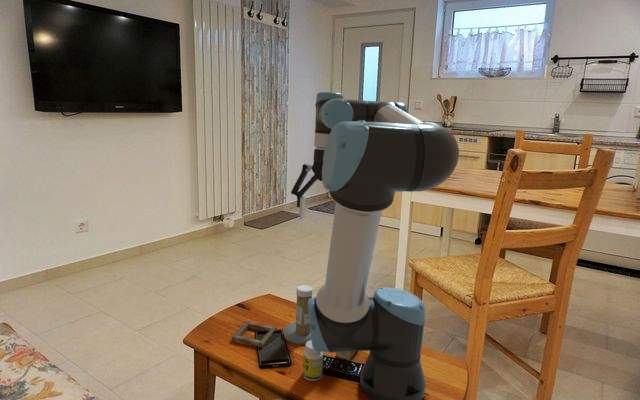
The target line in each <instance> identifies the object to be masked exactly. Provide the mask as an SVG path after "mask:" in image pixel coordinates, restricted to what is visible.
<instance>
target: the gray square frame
mask: <svg viewBox="0 0 640 400" xmlns="http://www.w3.org/2000/svg"><path fill="white" fill-rule="evenodd" d="M249 329H251V330H256V331H259V332H260V331H261V332H264V331H269V332H266V334H264V335H263V337H262V339H261V340H260V339H256V338H251V337H246V336H244V335H245V333H246V332H247V331H248V330H249ZM276 330H278V328H277V326H274V325H273V326H272V325H267V324H263V323H257V322H253V321H248V320H247V321H246V322H245V323H244V324H243V325H242V326H241V327H240V328H238V330H237V331H236V332H235V333H234V334H233V335H232V336H231V342H232V343H238V344H242V345H247V346H251V347H254V348H257V347H256V346H257V345H259V346H263V345H264V344H265V342H266V341H267V340H268V338H269V337H270V336H271V335H272V333H273V332H274V331H276Z"/></svg>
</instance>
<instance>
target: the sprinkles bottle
mask: <svg viewBox="0 0 640 400" xmlns="http://www.w3.org/2000/svg"><path fill="white" fill-rule="evenodd" d="M313 289H314V288H313V287H312V286H311V285H307V284H306V285H305V284H304V285H303V284H302V285H299V286H296V291H295V293H296V304H295V305H296V306H295V307H296V308H295V322H296V329H295V331H296V333H297V334H300V335H307V334H309V333H310V332H311V331H310V321H309V310H308V300H309V299H310V298H313V292H314V290H313Z"/></svg>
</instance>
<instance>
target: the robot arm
mask: <svg viewBox="0 0 640 400" xmlns="http://www.w3.org/2000/svg"><path fill="white" fill-rule="evenodd" d="M314 105H315V120H314V123H315V124H314V125H315V126H314V140H313V141H314V143H313V145H314V147H315V149H314V150H313V164H310V163H304V164H303V165H302V167H301V172H300V174H299V176H298V178H297V179H296V182H295V183H294V185H293V188H292V189H291V191H290V194H292V195H294V196H296V208H299V217H298V219H299V220H303V219H305V218H306V198H307V196H306V195H305V193H307V192H308V190H309V189H311V187H312V186H313V185H314V184H315V182H317V181H319V182H322V186H323V188H324V189H325V190H328V193H329V198H331V200H332V201H333V202H334V203H335V206H334V214H333V222H332V228H331V229H332V230H331V237H330V245H329V251H328V252H329V253H328V260H327V266H326V273H325V274H326V275H325V281H324V285H322V286H321V287H320V288H319V289H318V290H317V293H316V296H314V297H313V296H312V298H310V299H309V300H308V310H309V321H310V331H311V341H312V347H313V348H314V350H316V351H318V352H323V353H336V352H344V351H356V352H359V351H360V352H362V351H363V352H364V351H369V354H368V356H367V357H366V360H365V363H364V364H363V367H362V369H361V371H360V372H361V373H360V381H359V384H360V387H361V389H362V391H363V393H364V394H365V395H366V396H367V397H368V398H370V399H371V400H423V398H424V397H425V394H426V378H425V374H424V370H423V366H422V363H421V358H422V357H421V356H422V348H423V339H424V330H425V329H424V328H425V324H426V317H425V315H426V307H425V304H424V302H423V300H422V299H420V298H419V297H418V296H417V295H415V294H414V293H412V292H409V291H407V290H404V289H401V288H397V287H391V286H390V287H389V286H383V287H380V288H377V289H375V291H374V293H373V296H372V297H371V296H370V297H369V296H368V295H367V293H366V289H367V285H368V279H369V275H370V270H371V265H372V261H373V256H374V252H375V246H376V241H377V237H378V234H379V233H378V232H379V228H380V222H381V218H382V214H383V211H386V210H387V209H389V208H390V207H391V206H392V205H393V202H394V198H395V194H396V192H404V193H405V192H407V193H408V192H411V193H412V192H425V191H428V190H431V189H432V190H433V188H436V187H439V186H440V185H441V184H443V183H444V182H446V180H448V179H449V178H450V177H451V175H452V173H454V171H455V169H456V167H457V165H458V162H459V159H460V149H459V144H458V141H457V139H456V137H455V136H454V134H453V133H452V132H451V131H450V130H448V129H447V128H446V127H445V126H442V125H440V124H438V123H435V122H432V121H431V122H430V121H425V122H423V121H421V120H420V119H418V118H416V117H415V116H412V115H411V114H409V113H408V108H407V105H406V103H403V102H400V101H398V102H397V101H390V100H389V101H378V100H377V101H376V100H365V99H364V100H363V99H361V100H360V99H344V95H343V94H342V93H341V92H331V91H326V92H325V91H324V92H323V91H321V92H318V93H317V94H316V99H315V103H314ZM311 170H312V172H313V174H314V175H312V177H311V178H310V179H309V180H308V181H307V183H305V185H304V186H303V187H302V185H303V183H304V181H305V179H306V177H307V175H308V174H309V172H311ZM301 187H302V188H301ZM300 188H301V189H300Z"/></svg>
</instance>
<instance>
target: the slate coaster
mask: <svg viewBox="0 0 640 400" xmlns="http://www.w3.org/2000/svg"><path fill="white" fill-rule="evenodd" d="M295 329H296V321H295V322H292V323H289V324H287V325H285V326H284V328H283V329H282V335H283V334H284V337H285V339H286V340H285V339H284V340H285V341H286V342H288V343H290V344H293V345H297V346H299V345H300V346H306V342H308V341H310V340H311V332H310V333H309V334H307V335H300V334H297V333H296V331H295Z"/></svg>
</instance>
